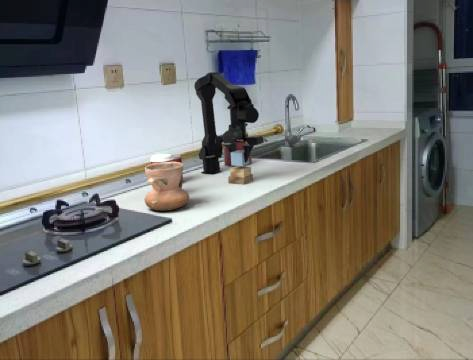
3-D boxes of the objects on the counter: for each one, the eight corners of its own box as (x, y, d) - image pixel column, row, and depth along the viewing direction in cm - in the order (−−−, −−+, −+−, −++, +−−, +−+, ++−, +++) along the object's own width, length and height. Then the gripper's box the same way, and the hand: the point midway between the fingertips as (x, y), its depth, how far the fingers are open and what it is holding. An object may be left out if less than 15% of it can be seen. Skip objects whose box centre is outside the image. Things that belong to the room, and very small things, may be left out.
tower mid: (230, 176, 191) (229, 169, 190) (238, 173, 196) (237, 165, 195) (243, 177, 188) (243, 169, 187) (251, 174, 193) (251, 166, 192)
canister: (234, 160, 238) (232, 123, 234) (257, 162, 230) (255, 124, 226) (218, 165, 228) (216, 127, 224) (241, 167, 220) (239, 128, 216)
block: (231, 165, 190) (230, 152, 189) (238, 162, 194) (237, 150, 193) (242, 166, 187) (241, 153, 186) (249, 163, 192) (248, 150, 190)
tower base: (228, 184, 192) (228, 176, 191) (237, 180, 197) (237, 173, 197) (244, 185, 188) (243, 178, 187) (253, 181, 194) (252, 174, 193)
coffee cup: (157, 201, 171) (153, 158, 167) (150, 196, 178) (146, 155, 175) (180, 197, 174) (177, 155, 171) (172, 192, 182) (168, 152, 178)
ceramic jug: (170, 217, 152) (166, 171, 148) (133, 212, 159) (129, 169, 155) (202, 202, 167) (199, 160, 164) (167, 198, 174) (163, 158, 171)
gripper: (205, 123, 186) (208, 164, 189) (248, 124, 176) (250, 167, 179) (222, 120, 195) (224, 159, 198) (263, 120, 185) (265, 161, 188)
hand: (240, 161), depth 191 cm, fingers closed on block, 5 cm apart
